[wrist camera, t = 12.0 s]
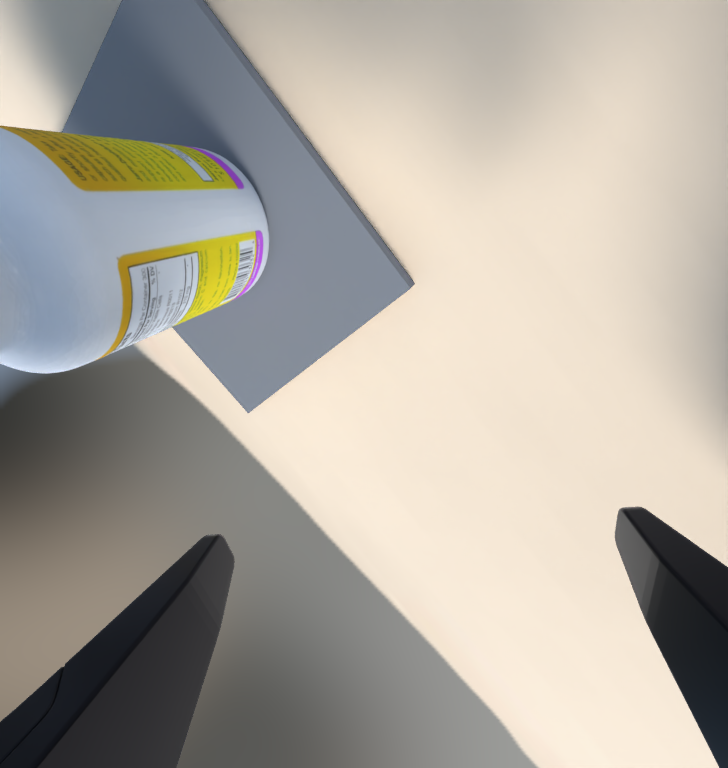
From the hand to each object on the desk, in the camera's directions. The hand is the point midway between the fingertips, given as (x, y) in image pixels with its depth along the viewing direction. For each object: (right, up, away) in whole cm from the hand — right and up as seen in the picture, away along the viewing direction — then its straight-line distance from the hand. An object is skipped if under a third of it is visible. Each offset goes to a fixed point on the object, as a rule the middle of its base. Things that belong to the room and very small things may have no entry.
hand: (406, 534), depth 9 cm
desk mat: (-8, +11, +11) cm, 17 cm away
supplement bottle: (-8, +11, +10) cm, 17 cm away
